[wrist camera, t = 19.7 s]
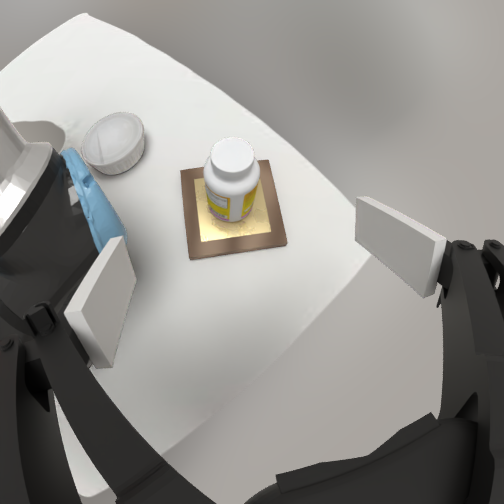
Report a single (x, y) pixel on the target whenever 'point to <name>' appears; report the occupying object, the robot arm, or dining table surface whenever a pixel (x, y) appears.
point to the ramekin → (114, 143)
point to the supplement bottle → (231, 179)
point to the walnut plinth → (231, 233)
